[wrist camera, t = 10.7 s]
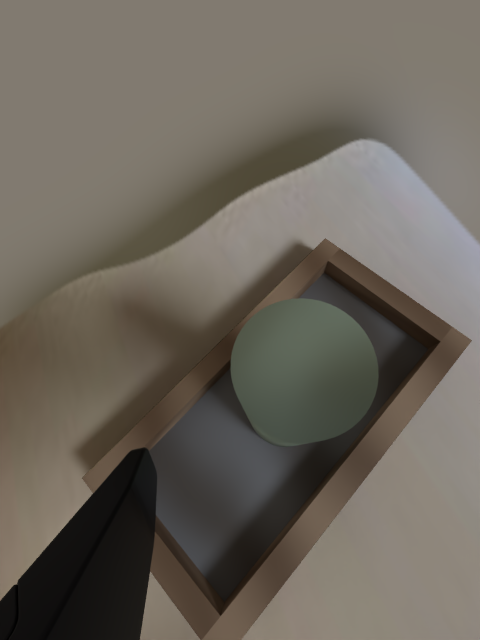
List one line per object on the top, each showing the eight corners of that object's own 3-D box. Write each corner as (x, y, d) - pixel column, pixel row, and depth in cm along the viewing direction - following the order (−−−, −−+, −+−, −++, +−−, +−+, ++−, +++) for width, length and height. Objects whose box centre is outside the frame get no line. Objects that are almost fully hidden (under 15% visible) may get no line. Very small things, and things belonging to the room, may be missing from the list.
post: (307, 457, 18) (363, 464, 8) (239, 433, 19) (210, 412, 9) (324, 388, 19) (389, 318, 9) (260, 368, 20) (255, 284, 10)
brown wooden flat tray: (224, 643, 16) (220, 666, 14) (98, 475, 19) (82, 477, 17) (454, 349, 20) (471, 340, 18) (320, 253, 23) (325, 238, 22)
